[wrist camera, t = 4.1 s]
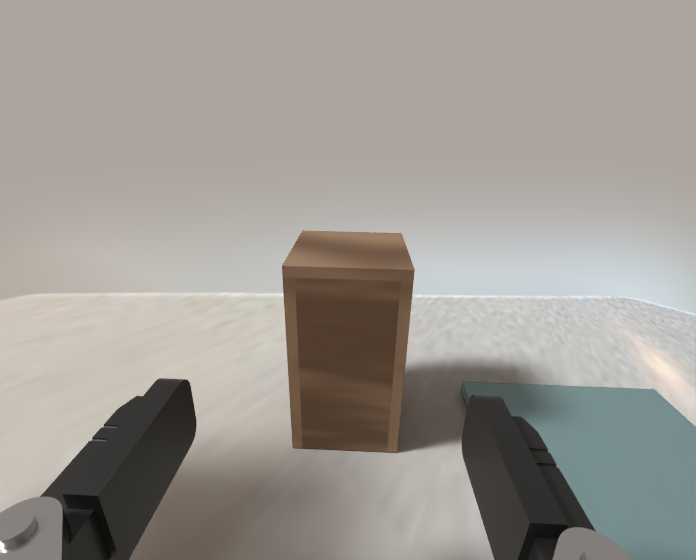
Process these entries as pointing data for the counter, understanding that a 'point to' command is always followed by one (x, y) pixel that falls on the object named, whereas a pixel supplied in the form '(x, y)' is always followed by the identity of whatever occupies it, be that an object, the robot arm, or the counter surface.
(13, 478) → the counter surface
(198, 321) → the counter surface
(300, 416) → the walnut cover
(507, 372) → the counter surface
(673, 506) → the teal mat
